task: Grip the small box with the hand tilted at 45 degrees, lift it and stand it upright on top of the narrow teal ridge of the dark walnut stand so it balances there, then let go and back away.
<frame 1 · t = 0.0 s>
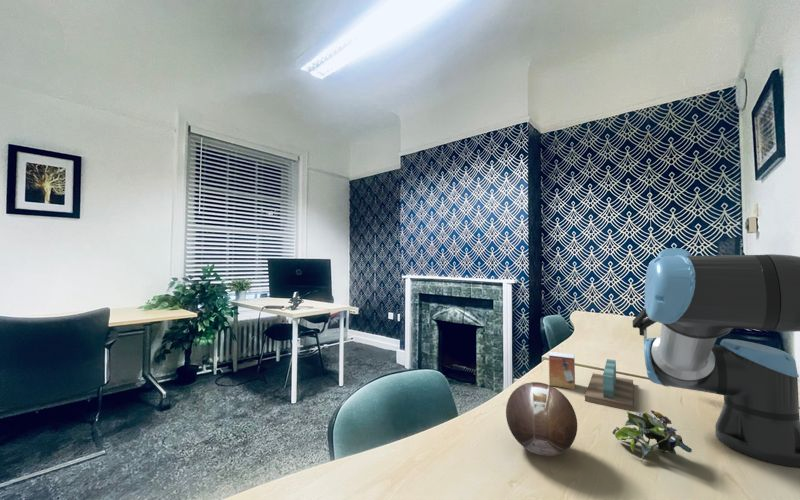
hand: (671, 344, 106), 15 cm above the table, tool tilted 35°, fingers open, 13 cm apart
small box: (562, 385, 112), on the table
ridge stand: (610, 392, 106), on the table
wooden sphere: (541, 451, 74), on the table
green leafy plant: (649, 455, 72), on the table
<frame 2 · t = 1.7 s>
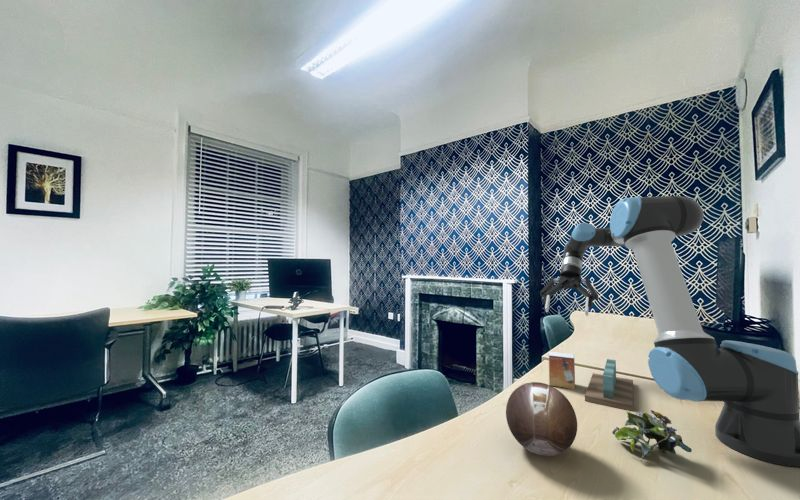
hand: (565, 311, 122), 24 cm above the table, tool tilted 45°, fingers open, 13 cm apart
nothing on the table moved.
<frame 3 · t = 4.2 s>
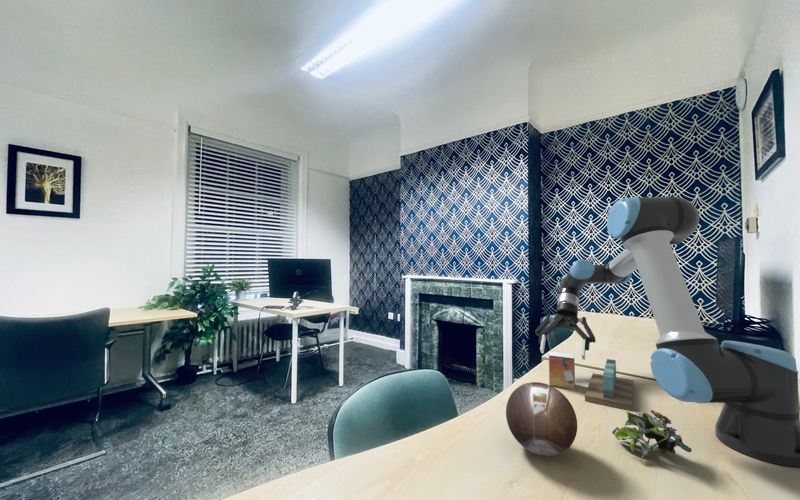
hand: (561, 354, 117), 9 cm above the table, tool tilted 45°, fingers open, 13 cm apart
nothing on the table moved.
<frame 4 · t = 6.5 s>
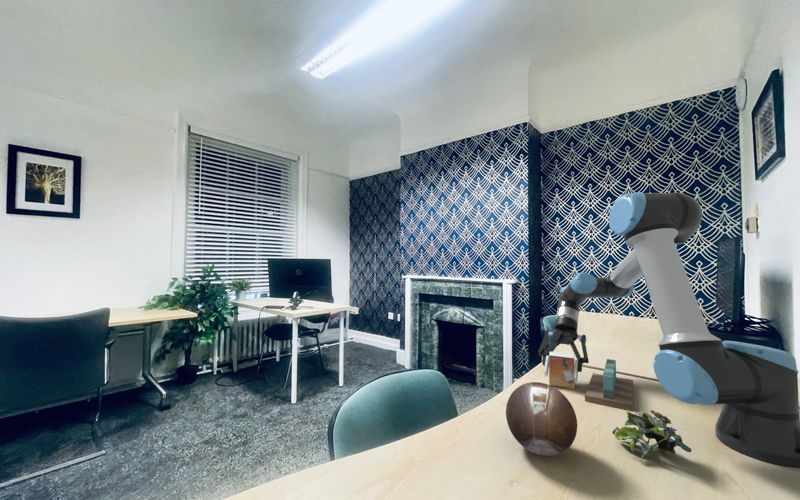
hand: (560, 376, 110), 4 cm above the table, tool tilted 45°, fingers closed on small box, 8 cm apart
small box: (562, 385, 112), on the table, touching gripper
everything else where it was.
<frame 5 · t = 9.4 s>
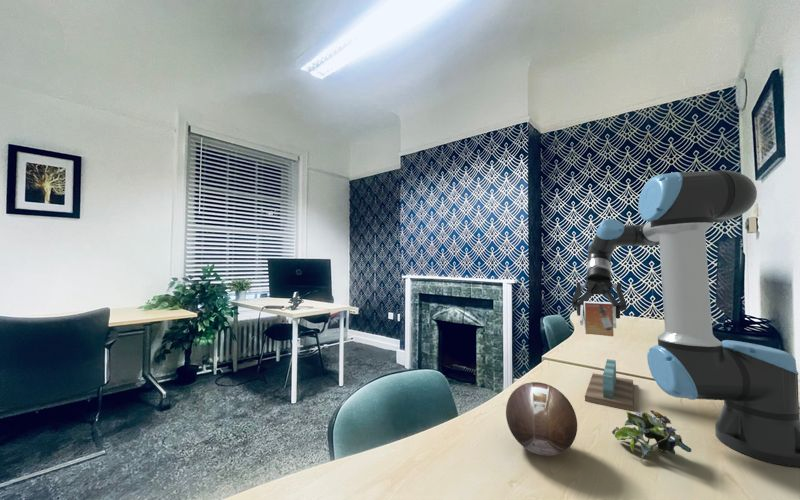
hand: (597, 324, 105), 22 cm above the table, tool tilted 45°, fingers closed on small box, 8 cm apart
small box: (598, 334, 107), point 18 cm above the table, touching gripper
everything else where it was.
when the fingers open (13 cm above the table, at t = 12.8 s): small box drops 1 cm, resting on ridge stand.
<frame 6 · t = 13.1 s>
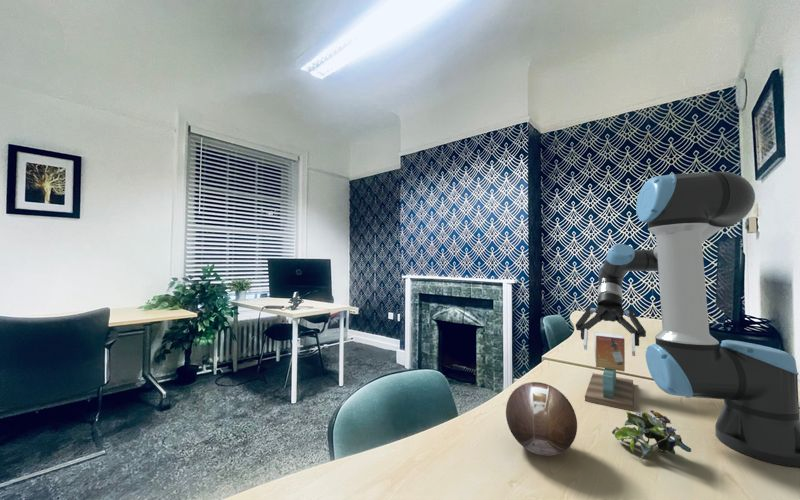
hand: (608, 350, 104), 14 cm above the table, tool tilted 45°, fingers open, 12 cm apart
small box: (609, 367, 106), point 8 cm above the table, touching ridge stand
everything else where it was.
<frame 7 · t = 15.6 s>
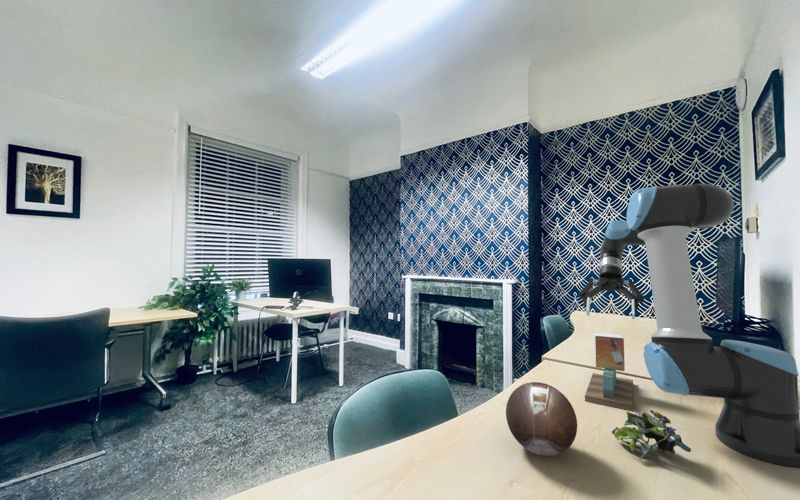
hand: (609, 315, 115), 24 cm above the table, tool tilted 45°, fingers open, 13 cm apart
nothing on the table moved.
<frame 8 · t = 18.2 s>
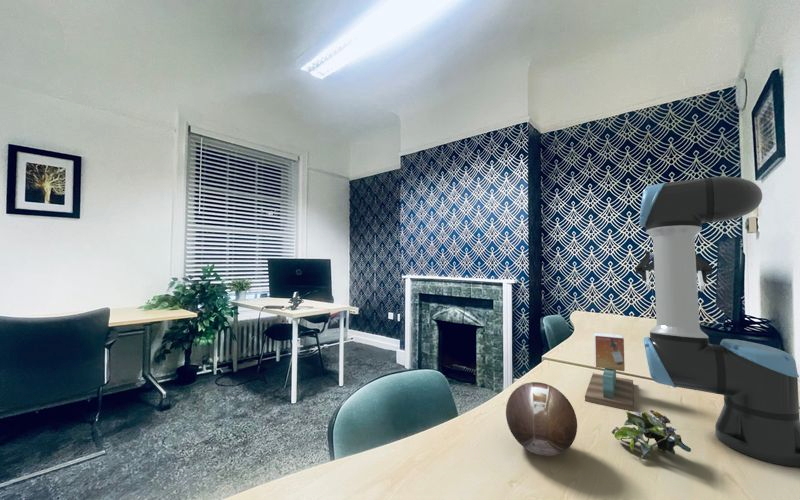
hand: (674, 288, 106), 34 cm above the table, tool tilted 45°, fingers open, 13 cm apart
nothing on the table moved.
at the end: small box inside the target area on the ridge stand (0.1 cm from its centre), point 7.8 cm above the ridge stand's base; small box tilted 0°; the gripper is holding nothing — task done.
